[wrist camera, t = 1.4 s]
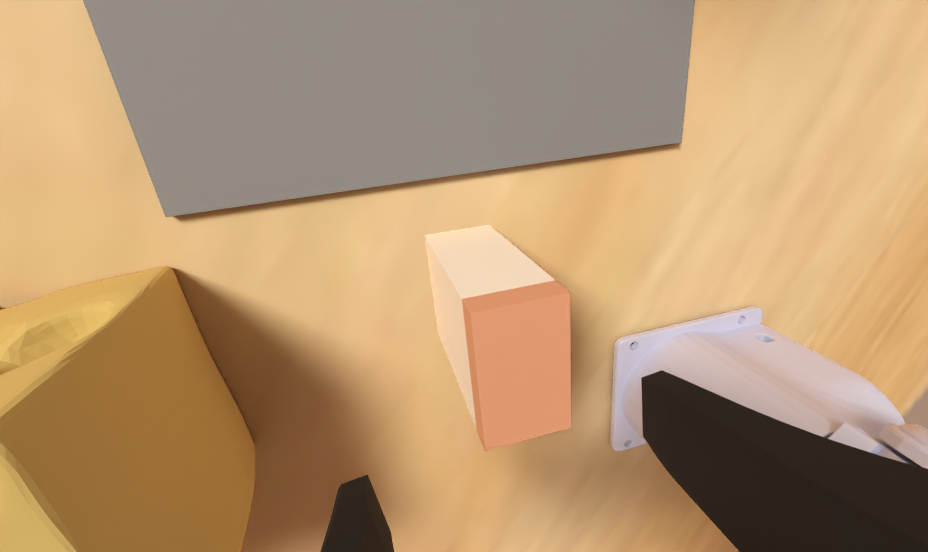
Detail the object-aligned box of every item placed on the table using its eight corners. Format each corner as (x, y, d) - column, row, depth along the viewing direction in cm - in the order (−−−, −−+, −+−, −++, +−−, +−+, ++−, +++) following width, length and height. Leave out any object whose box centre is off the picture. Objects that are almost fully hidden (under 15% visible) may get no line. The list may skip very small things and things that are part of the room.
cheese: (-137, 318, 15) (-853, 627, 6) (188, 251, 17) (7, 413, 8) (25, 519, 19) (-260, 882, 10) (273, 448, 21) (217, 702, 12)
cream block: (488, 224, 20) (570, 292, 12) (496, 320, 22) (570, 427, 14) (424, 235, 19) (470, 313, 12) (438, 332, 21) (484, 451, 14)
